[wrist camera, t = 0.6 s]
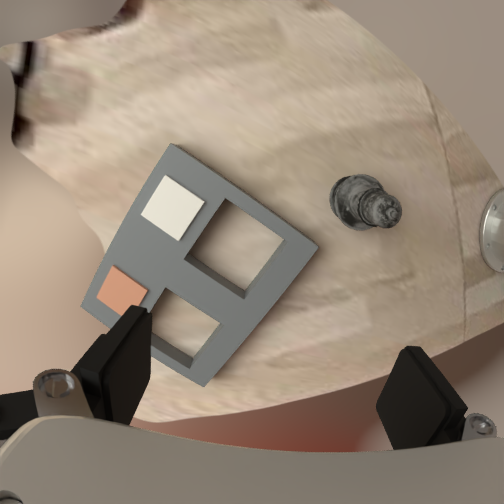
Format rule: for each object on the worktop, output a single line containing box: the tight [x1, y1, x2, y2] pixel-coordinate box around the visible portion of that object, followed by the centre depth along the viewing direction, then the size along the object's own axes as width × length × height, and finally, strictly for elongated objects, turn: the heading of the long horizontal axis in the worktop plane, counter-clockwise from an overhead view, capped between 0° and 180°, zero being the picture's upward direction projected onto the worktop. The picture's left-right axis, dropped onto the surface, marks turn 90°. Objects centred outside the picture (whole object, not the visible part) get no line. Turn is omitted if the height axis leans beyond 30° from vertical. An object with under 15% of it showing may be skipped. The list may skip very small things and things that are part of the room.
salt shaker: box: [330, 174, 402, 230], centre depth 29 cm, size 6×6×12 cm
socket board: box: [81, 143, 319, 387], centre depth 35 cm, size 19×23×3 cm
